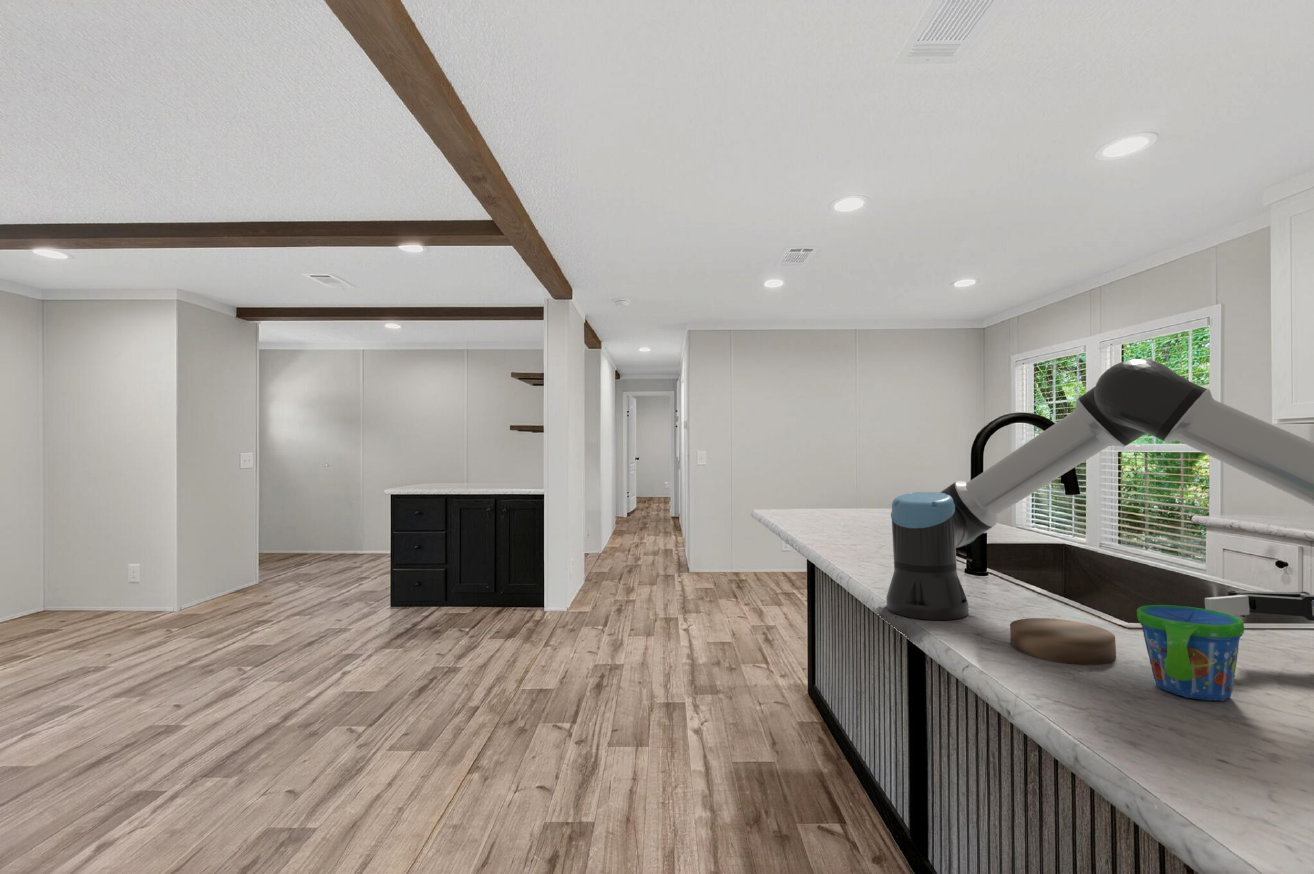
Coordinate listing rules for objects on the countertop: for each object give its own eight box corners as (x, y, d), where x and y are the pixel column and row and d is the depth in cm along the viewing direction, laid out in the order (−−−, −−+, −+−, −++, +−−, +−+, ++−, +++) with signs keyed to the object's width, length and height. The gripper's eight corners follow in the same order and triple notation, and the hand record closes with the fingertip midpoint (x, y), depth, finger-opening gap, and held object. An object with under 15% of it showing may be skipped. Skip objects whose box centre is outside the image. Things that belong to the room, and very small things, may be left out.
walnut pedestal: (991, 638, 102) (990, 621, 102) (1064, 632, 104) (1064, 615, 104) (1057, 667, 88) (1056, 647, 88) (1140, 660, 90) (1139, 640, 90)
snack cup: (1163, 666, 87) (1159, 596, 87) (1264, 689, 78) (1259, 611, 78) (1120, 693, 78) (1115, 615, 79) (1228, 722, 70) (1223, 634, 70)
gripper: (1537, 666, 70) (1389, 683, 67) (1287, 613, 95) (1171, 623, 92) (1531, 602, 70) (1383, 616, 68) (1283, 565, 95) (1167, 574, 92)
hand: (1260, 620), depth 80 cm, fingers open, 13 cm apart
